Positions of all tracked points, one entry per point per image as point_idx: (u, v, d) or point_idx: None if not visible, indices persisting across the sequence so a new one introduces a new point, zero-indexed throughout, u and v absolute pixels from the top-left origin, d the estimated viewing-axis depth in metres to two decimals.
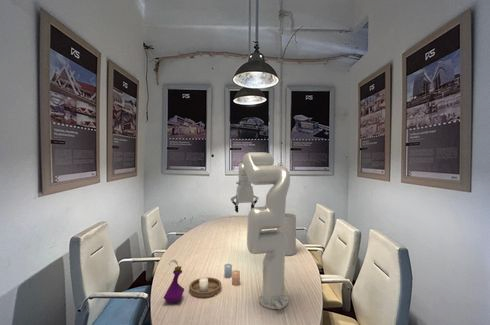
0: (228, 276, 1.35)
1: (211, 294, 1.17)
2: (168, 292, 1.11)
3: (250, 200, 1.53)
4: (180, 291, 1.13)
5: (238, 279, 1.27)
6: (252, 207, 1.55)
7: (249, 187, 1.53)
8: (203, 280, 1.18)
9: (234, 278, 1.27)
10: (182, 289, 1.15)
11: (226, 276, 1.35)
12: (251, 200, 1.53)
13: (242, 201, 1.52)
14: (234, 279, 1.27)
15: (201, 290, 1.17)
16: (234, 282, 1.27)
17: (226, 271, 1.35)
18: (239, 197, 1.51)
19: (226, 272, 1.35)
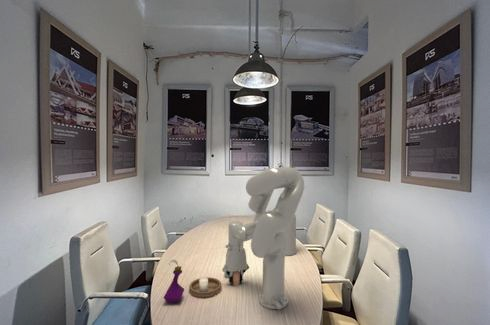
0: (228, 276, 1.35)
1: (211, 294, 1.17)
2: (168, 292, 1.11)
3: (242, 267, 1.27)
4: (180, 291, 1.13)
5: (238, 279, 1.27)
6: (240, 278, 1.28)
7: (241, 252, 1.27)
8: (203, 280, 1.18)
9: (234, 278, 1.27)
10: (182, 289, 1.15)
11: (226, 276, 1.35)
12: (243, 267, 1.27)
13: (233, 269, 1.26)
14: (234, 279, 1.27)
15: (201, 290, 1.17)
16: (234, 282, 1.27)
17: None
18: (229, 265, 1.25)
19: None
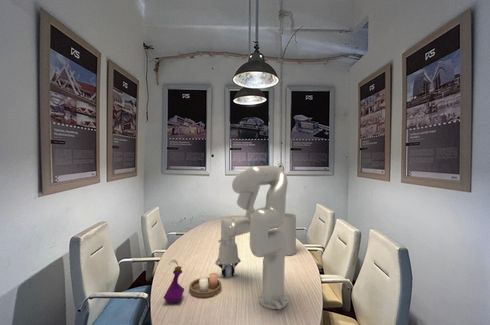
0: (228, 276, 1.35)
1: (211, 294, 1.17)
2: (168, 292, 1.11)
3: (234, 261, 1.35)
4: (180, 291, 1.13)
5: (210, 282, 1.23)
6: (232, 271, 1.36)
7: (233, 246, 1.35)
8: (203, 280, 1.18)
9: None
10: (182, 289, 1.15)
11: (226, 276, 1.35)
12: (235, 261, 1.35)
13: (225, 263, 1.34)
14: None
15: (201, 290, 1.17)
16: None
17: (226, 271, 1.35)
18: (221, 258, 1.33)
19: (226, 272, 1.35)
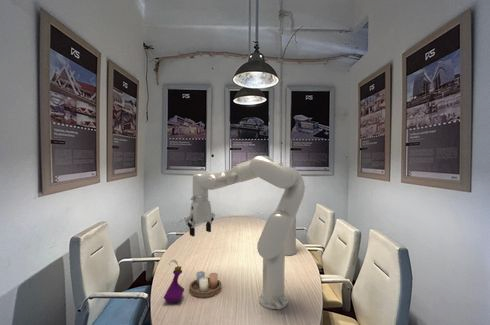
0: None
1: (211, 294, 1.17)
2: (168, 292, 1.11)
3: (208, 219, 1.25)
4: (180, 291, 1.13)
5: (210, 282, 1.23)
6: (209, 227, 1.27)
7: (207, 203, 1.25)
8: (203, 280, 1.18)
9: None
10: (182, 289, 1.15)
11: None
12: (209, 218, 1.26)
13: (200, 221, 1.22)
14: None
15: (201, 290, 1.17)
16: None
17: None
18: (197, 217, 1.20)
19: None
